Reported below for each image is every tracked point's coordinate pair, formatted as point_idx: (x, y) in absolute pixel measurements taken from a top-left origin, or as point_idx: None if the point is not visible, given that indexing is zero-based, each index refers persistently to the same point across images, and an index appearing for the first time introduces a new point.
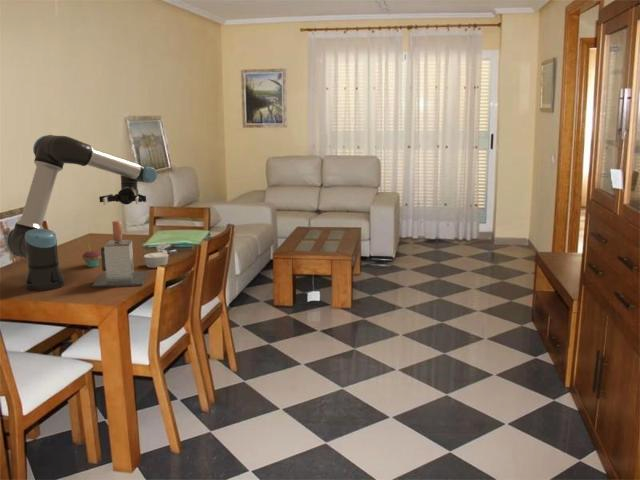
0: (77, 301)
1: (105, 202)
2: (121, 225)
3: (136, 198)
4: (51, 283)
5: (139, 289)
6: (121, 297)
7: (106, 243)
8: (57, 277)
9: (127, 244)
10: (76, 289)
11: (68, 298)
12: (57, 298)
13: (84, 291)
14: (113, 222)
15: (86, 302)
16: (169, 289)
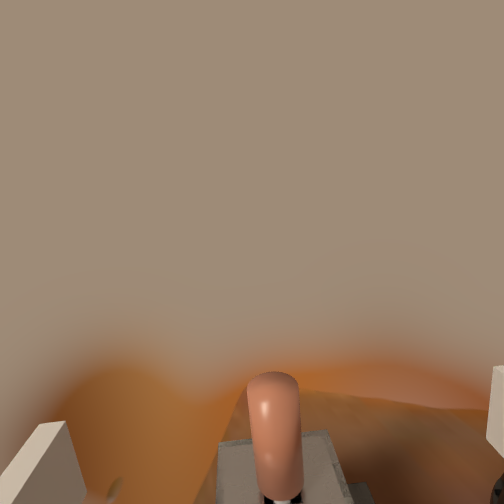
0: (334, 404)
1: (500, 429)
2: (249, 410)
3: (52, 427)
4: (496, 482)
5: (203, 488)
6: (243, 425)
7: (331, 458)
8: (500, 494)
9: (225, 443)
10: (407, 498)
11: (370, 421)
12: (398, 421)
13: (365, 475)
14: (286, 374)
15: (311, 399)
16: (117, 484)
